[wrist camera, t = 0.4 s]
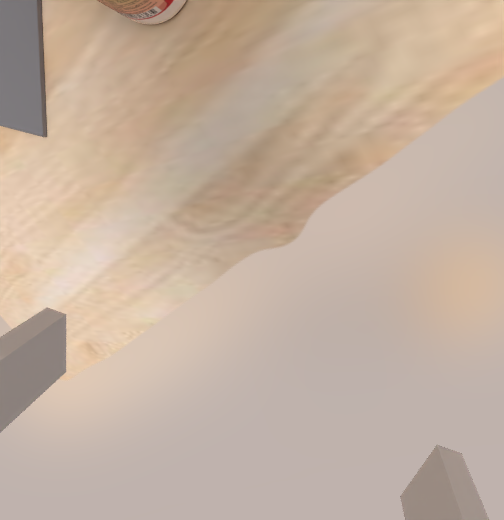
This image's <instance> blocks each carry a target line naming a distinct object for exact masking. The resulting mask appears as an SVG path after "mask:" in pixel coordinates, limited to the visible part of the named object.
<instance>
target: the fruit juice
mask: <svg viewBox="0 0 504 520" xmlns="http://www.w3.org/2000/svg"><path fill="white" fill-rule="evenodd" d="M97 1H99V2H101V3H103V4H104V5H106V6H108V7H110V8H111V9H113V10H115V11H117V12H118V13H120V14H122V15H124V16H125V17H127V18H129V19H131V20H133V21H136V22H139V23H142V24H159V23H163V22H165V21H167V20H169V19H171V18H172V17H173V16H175V15H176V14H177V13H178V12H179V11H180V9H181V8H182V7H183V5H184V4H185V2H186V0H97Z"/></svg>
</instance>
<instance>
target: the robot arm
mask: <svg viewBox="0 0 504 520" xmlns="http://www.w3.org/2000/svg"><path fill="white" fill-rule="evenodd" d="M65 372H66V314H64V313H61V312H58V311H56V310H53V309H50V308H46V309H44V310H42V311H41V312H39V313H38V314H36V315H35V316H33V317H31V318H30V319H28V320H27V321H25V322H23V323H22V324H20V325H19V326H17V327H16V328H14V329H12V330H11V331H9V332H8V333H6V334H5V335H3V336H1V337H0V432H2V431H3V430H4V429H5V428H6V427H7V426H8V425H9V424H10V423H11V422H12V421H13V420H14V419H15V418H17V417H18V416H19V415H20V414H21V413H22V412H23V411H24V410H25V409H26V408H27V407H28V406H30V405H31V404H32V403H33V402H34V401H35V400H36V399H37V398H38V397H39V396H40V395H41V394H43V393H44V392H45V391H46V390H47V389H48V388H49V387H50V386H51V385H52V384H53V383H55V382H56V380H58V379H59V378H60V377H61V376H62V375H63V374H64V373H65ZM400 497H401V501H402V506H403V511H404V517H405V520H489V518H488V516H487V513H486V511H485V509H484V506H483V504H482V501H481V499H480V497H479V494H478V492H477V489H476V487H475V485H474V482H473V480H472V477H471V475H470V472H469V470H468V468H467V465H466V463H465V461H464V458H463V456H462V453H459V452H456V451H453V450H450V449H448V448H445V447H442V446H439V445H436V447H435V448H434V450H433V451H432V452H431V454H430V455H429V457H428V458H427V460H426V461H425V462H424V464H423V465H422V467H421V468H420V470H419V471H418V472H417V474H416V475H415V476H414V478H413V479H412V481H411V482H410V484H409V485H408V486H407V488H406V489H405V491H404V492H403V493H402V495H401V496H400Z"/></svg>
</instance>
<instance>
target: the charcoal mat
mask: <svg viewBox="0 0 504 520" xmlns="http://www.w3.org/2000/svg"><path fill="white" fill-rule="evenodd" d="M0 126H3V127H7V128H11V129H15V130H19V131H23V132H26V133H30V134H34V135H38V136H42V137H47V127H46V103H45V78H44V53H43V29H42V4H41V0H0Z"/></svg>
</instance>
